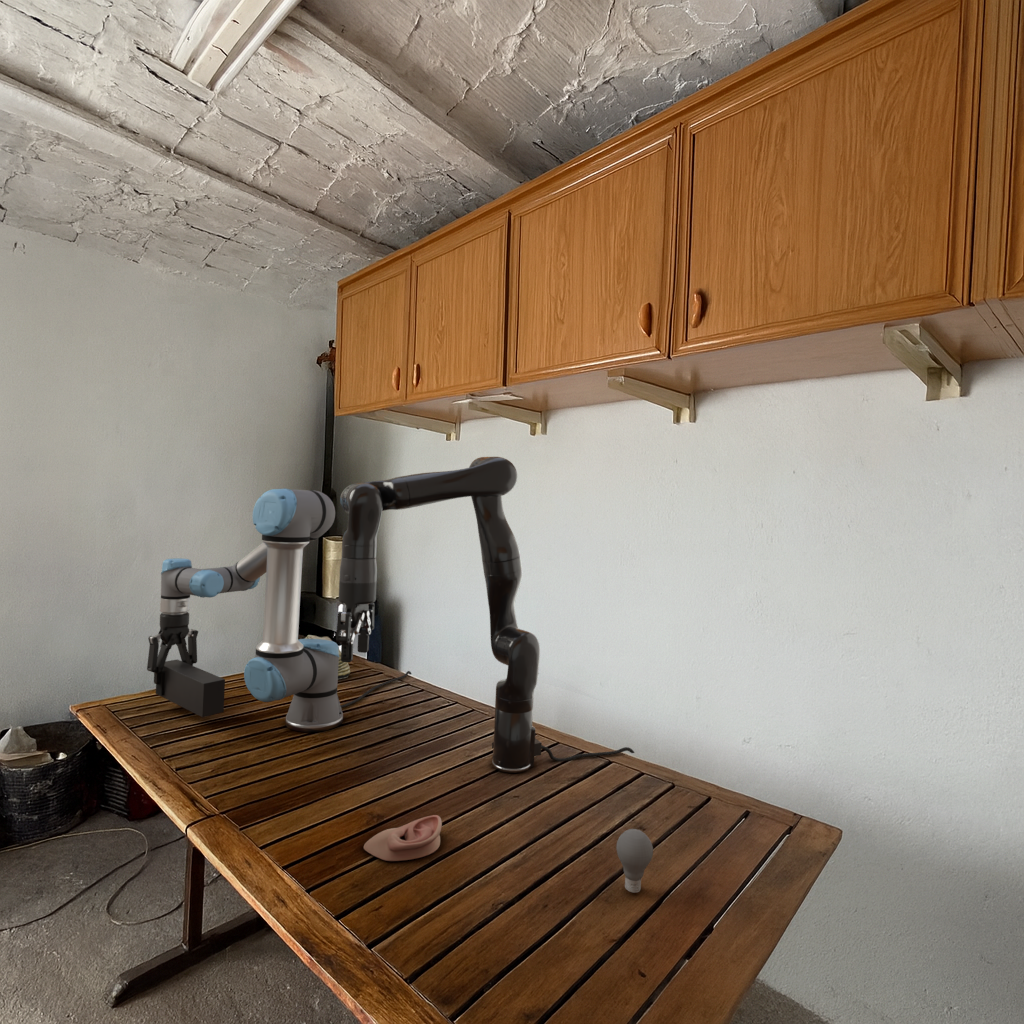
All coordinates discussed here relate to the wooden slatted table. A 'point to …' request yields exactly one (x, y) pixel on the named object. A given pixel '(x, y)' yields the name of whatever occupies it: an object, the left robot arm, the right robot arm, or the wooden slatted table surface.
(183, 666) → the bar
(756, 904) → the wooden slatted table surface
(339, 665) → the fossil
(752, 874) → the wooden slatted table surface
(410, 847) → the anatomical model
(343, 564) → the right robot arm
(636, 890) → the light bulb
